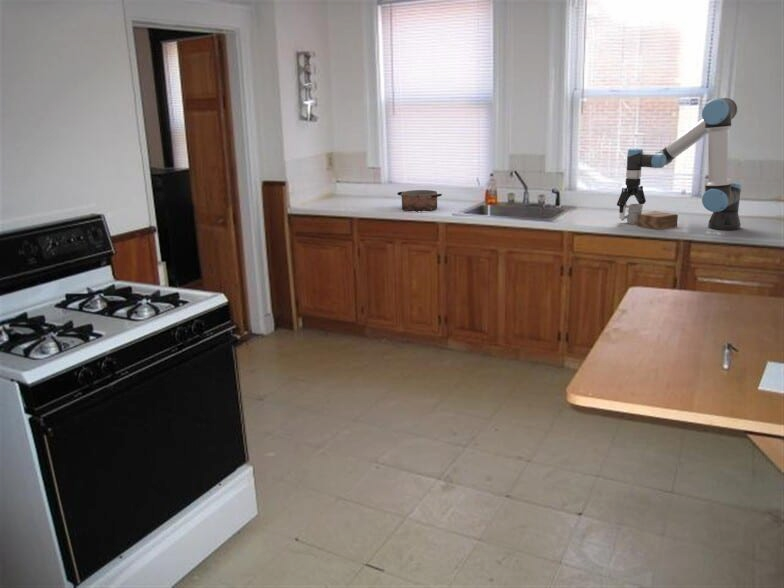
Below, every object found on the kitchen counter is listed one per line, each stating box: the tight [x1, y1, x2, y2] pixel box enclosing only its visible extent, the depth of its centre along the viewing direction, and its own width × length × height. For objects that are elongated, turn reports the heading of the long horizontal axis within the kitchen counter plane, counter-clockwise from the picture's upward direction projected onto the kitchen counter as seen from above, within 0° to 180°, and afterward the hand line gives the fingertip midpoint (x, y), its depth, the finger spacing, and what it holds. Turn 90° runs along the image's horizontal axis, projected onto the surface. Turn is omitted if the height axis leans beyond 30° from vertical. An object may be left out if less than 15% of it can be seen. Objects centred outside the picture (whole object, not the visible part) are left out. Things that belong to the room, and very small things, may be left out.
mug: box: [620, 203, 643, 225], centre depth 383 cm, size 8×12×12 cm, turn 86°
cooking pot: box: [396, 189, 443, 212], centre depth 446 cm, size 30×22×11 cm
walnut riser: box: [636, 210, 679, 230], centre depth 373 cm, size 14×14×6 cm
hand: (630, 217), depth 384 cm, fingers open, 13 cm apart
